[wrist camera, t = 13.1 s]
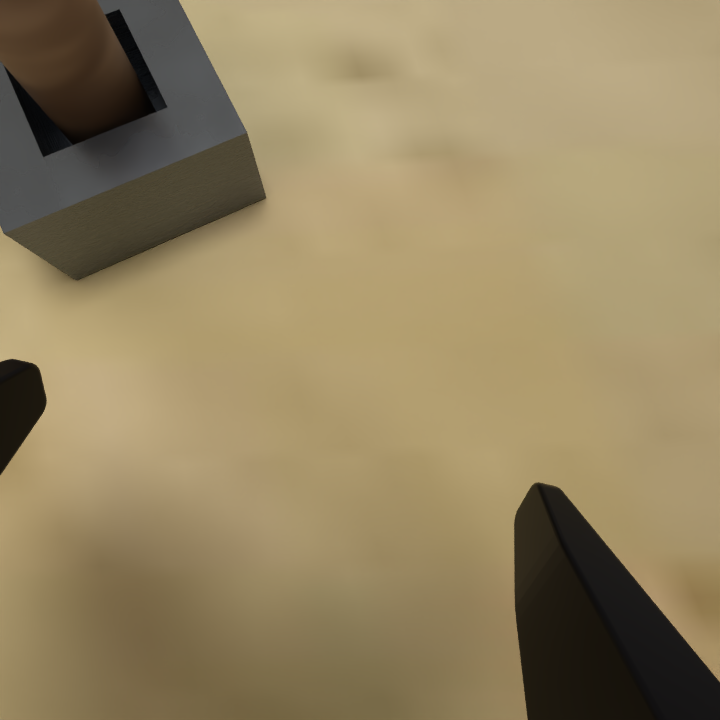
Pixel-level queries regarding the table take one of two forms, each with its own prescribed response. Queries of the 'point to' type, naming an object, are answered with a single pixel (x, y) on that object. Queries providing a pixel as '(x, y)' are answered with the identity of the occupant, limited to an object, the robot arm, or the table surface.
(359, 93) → the table surface
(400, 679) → the table surface
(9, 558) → the table surface
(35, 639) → the table surface
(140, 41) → the bore block
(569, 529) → the robot arm
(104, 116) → the walnut pin
